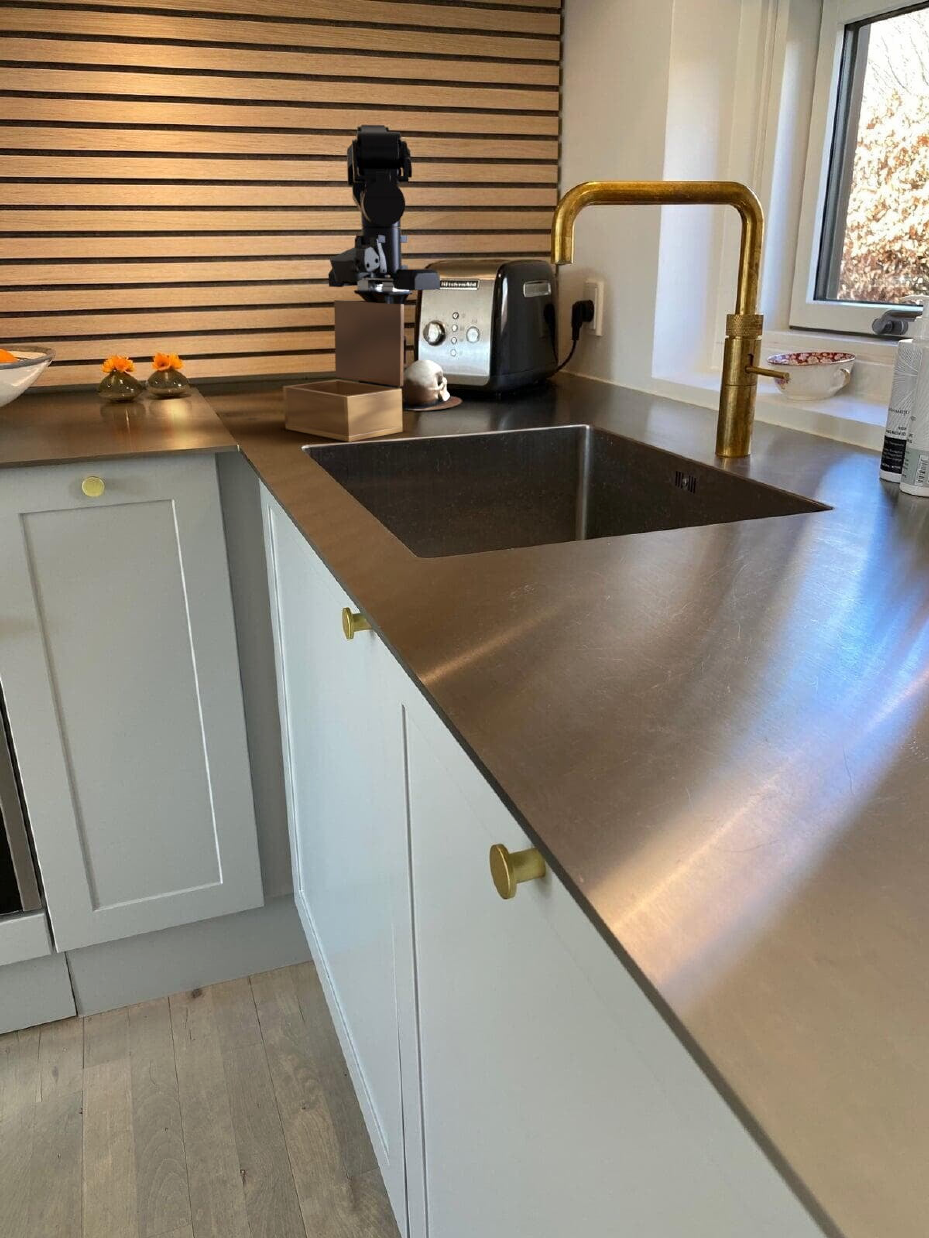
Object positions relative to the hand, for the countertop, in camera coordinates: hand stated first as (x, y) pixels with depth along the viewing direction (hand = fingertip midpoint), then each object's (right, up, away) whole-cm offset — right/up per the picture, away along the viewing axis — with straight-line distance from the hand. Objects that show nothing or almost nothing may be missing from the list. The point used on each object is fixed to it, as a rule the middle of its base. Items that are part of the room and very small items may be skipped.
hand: (384, 339), depth 143 cm
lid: (-3, -1, -2) cm, 4 cm away
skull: (+6, -6, +20) cm, 22 cm away
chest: (-6, -14, -1) cm, 15 cm away
